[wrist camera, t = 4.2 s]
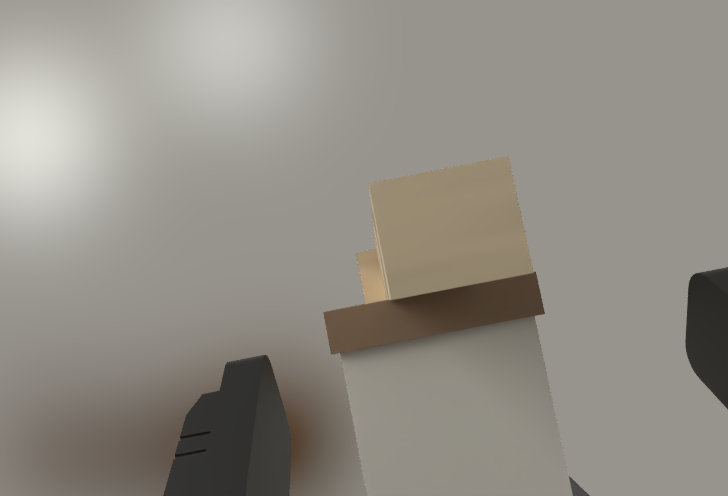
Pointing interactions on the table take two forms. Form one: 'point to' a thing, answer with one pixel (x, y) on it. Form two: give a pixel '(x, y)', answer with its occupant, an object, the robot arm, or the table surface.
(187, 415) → the robot arm
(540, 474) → the white tall carton
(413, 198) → the tan wooden plank
